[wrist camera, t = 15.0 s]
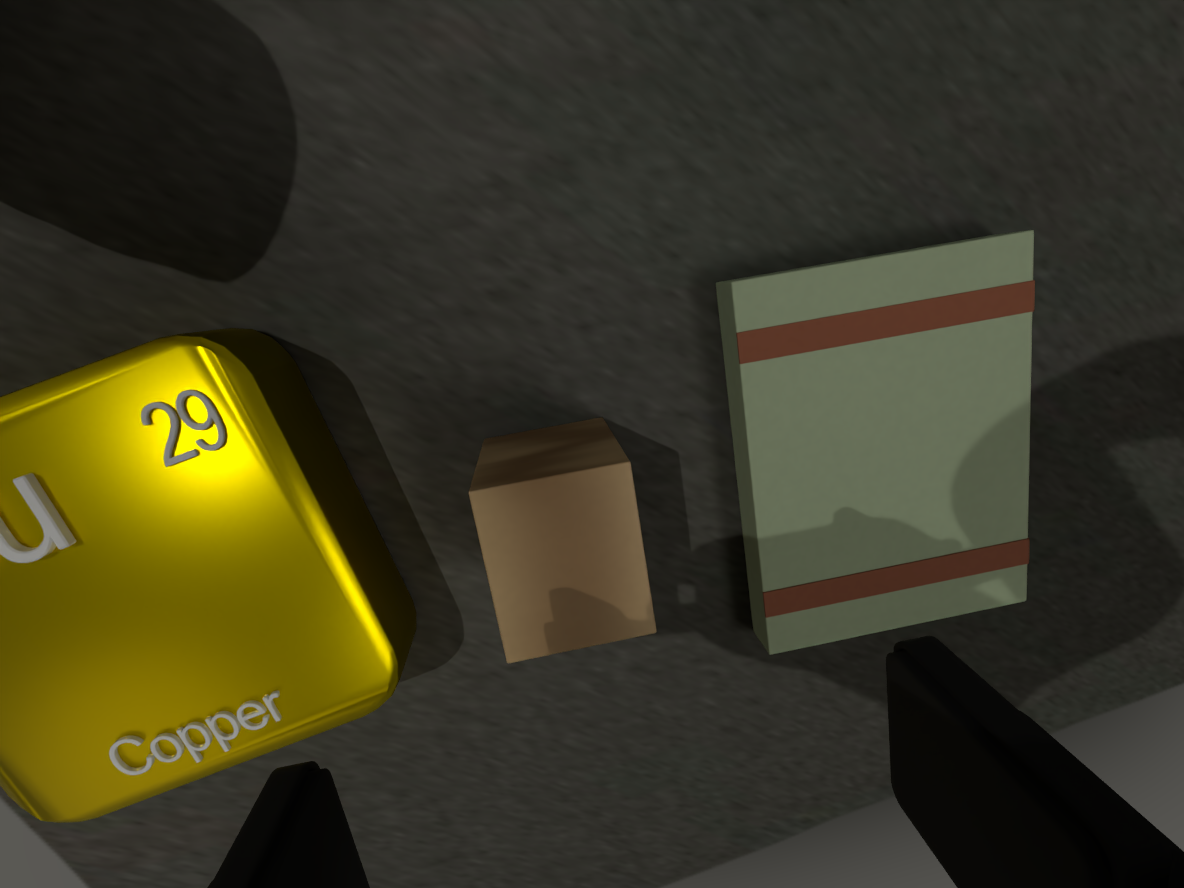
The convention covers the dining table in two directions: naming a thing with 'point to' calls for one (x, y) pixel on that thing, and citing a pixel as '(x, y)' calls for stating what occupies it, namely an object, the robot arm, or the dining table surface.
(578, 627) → the block
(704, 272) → the dining table surface
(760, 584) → the towel
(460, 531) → the dining table surface
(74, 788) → the element tile
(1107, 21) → the dining table surface
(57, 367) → the dining table surface
